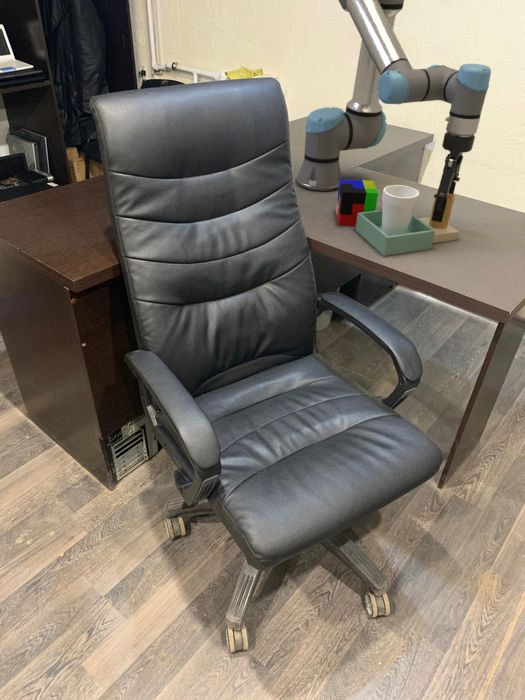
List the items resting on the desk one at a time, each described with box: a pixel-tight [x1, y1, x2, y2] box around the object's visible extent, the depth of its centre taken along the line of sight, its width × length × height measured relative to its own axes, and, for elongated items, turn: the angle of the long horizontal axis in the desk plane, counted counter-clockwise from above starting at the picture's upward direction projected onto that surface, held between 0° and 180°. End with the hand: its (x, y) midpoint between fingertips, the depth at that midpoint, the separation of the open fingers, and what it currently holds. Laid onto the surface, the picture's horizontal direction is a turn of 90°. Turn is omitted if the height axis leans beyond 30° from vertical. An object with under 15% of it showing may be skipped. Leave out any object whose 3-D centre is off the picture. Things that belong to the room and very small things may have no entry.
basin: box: [354, 209, 435, 257], centre depth 146 cm, size 17×15×5 cm
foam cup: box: [381, 184, 420, 236], centre depth 143 cm, size 10×9×13 cm
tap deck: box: [417, 216, 459, 244], centre depth 150 cm, size 11×10×3 cm
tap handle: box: [429, 192, 456, 228], centre depth 147 cm, size 5×5×9 cm
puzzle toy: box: [335, 179, 379, 227], centre depth 155 cm, size 10×10×10 cm
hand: (441, 212), depth 147 cm, fingers open, 13 cm apart
